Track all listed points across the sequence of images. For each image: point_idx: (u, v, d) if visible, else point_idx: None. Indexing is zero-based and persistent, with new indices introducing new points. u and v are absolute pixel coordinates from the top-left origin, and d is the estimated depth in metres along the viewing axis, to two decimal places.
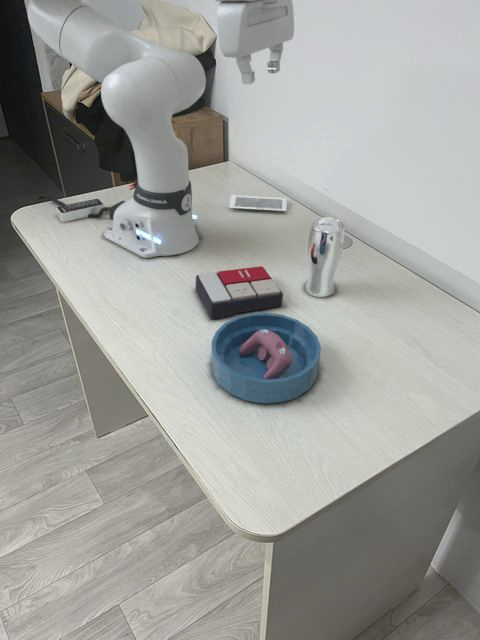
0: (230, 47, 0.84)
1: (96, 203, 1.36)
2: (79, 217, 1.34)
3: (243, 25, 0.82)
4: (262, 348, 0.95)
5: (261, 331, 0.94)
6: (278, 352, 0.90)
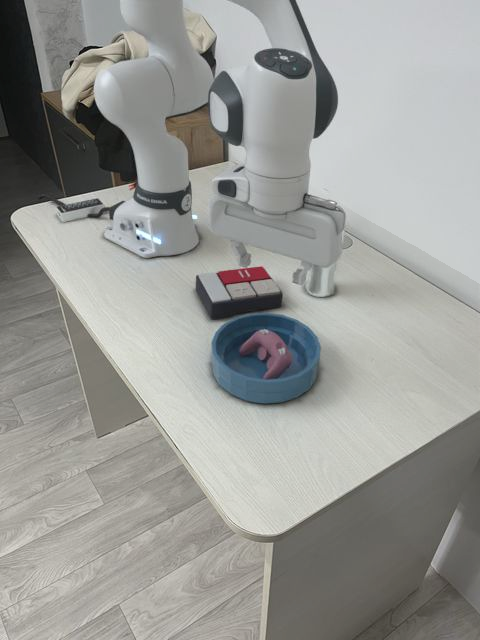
0: None
1: (96, 203, 1.36)
2: (79, 217, 1.34)
3: (211, 209, 0.78)
4: (262, 348, 0.95)
5: (261, 331, 0.94)
6: (278, 352, 0.90)
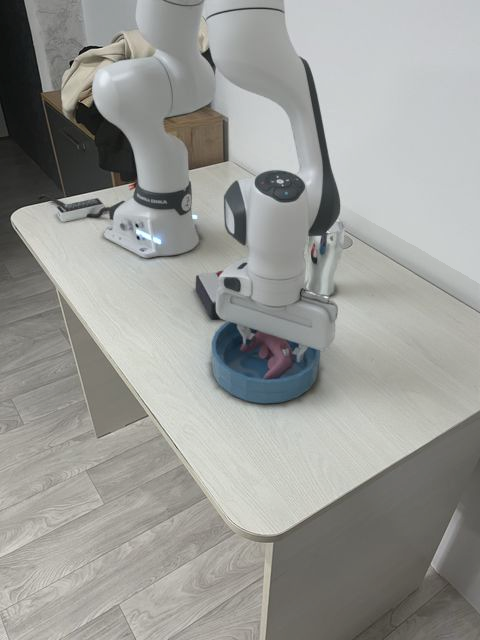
0: None
1: (95, 202, 1.36)
2: (79, 217, 1.34)
3: (218, 299, 0.88)
4: (264, 347, 0.95)
5: None
6: (282, 352, 0.90)
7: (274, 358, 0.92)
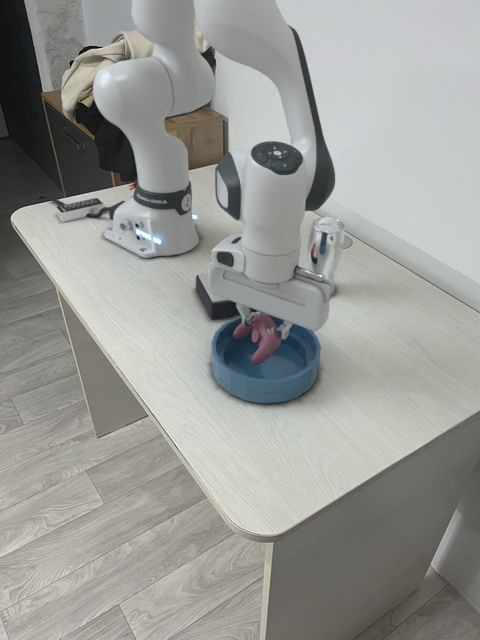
0: None
1: (95, 202, 1.36)
2: (79, 216, 1.34)
3: (210, 273, 0.85)
4: (255, 330, 0.94)
5: (253, 313, 0.93)
6: (266, 331, 0.89)
7: None
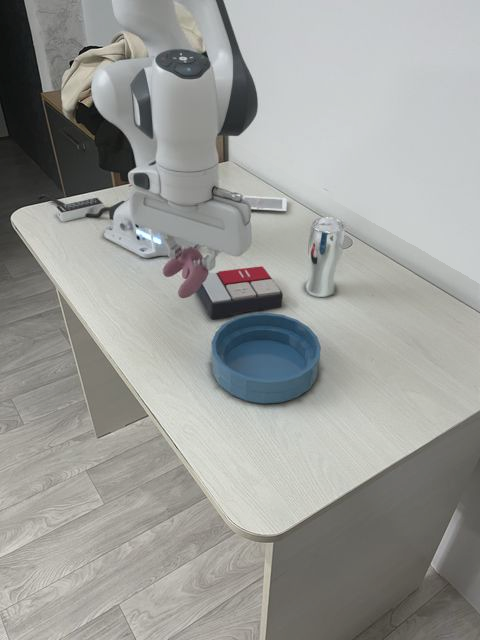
0: None
1: (95, 202, 1.36)
2: (79, 216, 1.34)
3: (131, 200, 0.83)
4: (185, 266, 0.91)
5: (182, 247, 0.91)
6: (193, 263, 0.86)
7: None
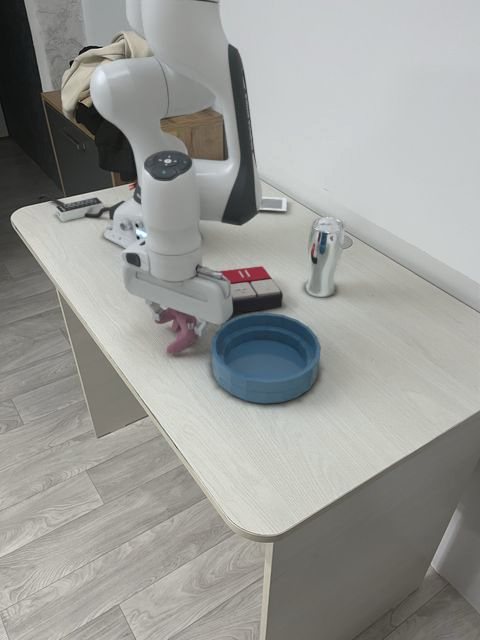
0: None
1: (95, 202, 1.37)
2: (79, 216, 1.34)
3: (124, 274, 0.92)
4: (176, 320, 0.99)
5: None
6: (186, 326, 0.95)
7: (182, 331, 0.97)
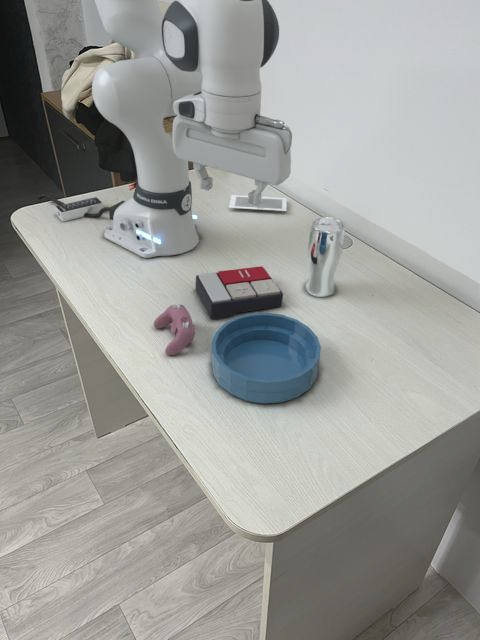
0: None
1: (95, 201, 1.37)
2: (79, 216, 1.34)
3: (174, 132, 0.86)
4: None
5: (173, 305, 0.99)
6: (181, 325, 0.95)
7: None
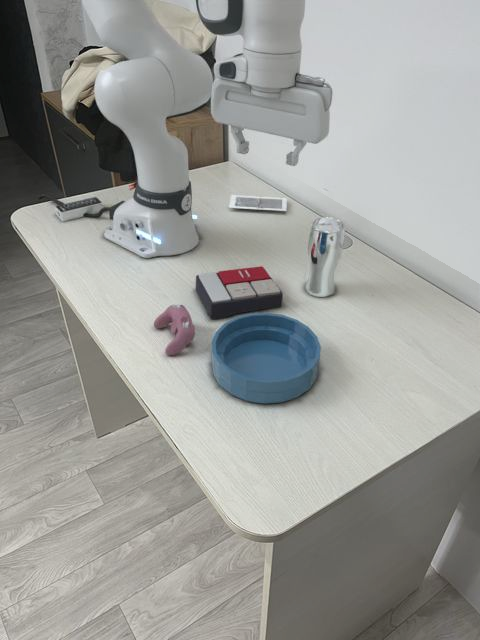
0: None
1: (94, 201, 1.37)
2: (78, 216, 1.34)
3: (213, 95, 0.88)
4: None
5: (173, 305, 0.99)
6: (181, 325, 0.95)
7: None
